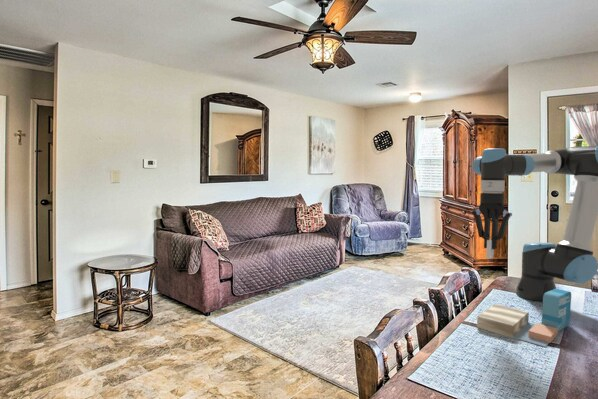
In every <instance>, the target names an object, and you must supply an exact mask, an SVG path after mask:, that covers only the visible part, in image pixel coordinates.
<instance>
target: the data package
mask: <svg viewBox="0 0 598 399" xmlns="http://www.w3.org/2000/svg"><path fill="white" fill-rule="evenodd" d="M571 303H572V292H571V291H570V290H564V289H559V288H556V289H553V290H551V291H548V292H546V293H545V294H544V296H543V302H542V309H541V324H543V325H547V326H551V327H554V328H558V331H559V332H560V331H561V330H563V329H564V328H567V327H568V326H569V325H570V320H571V319H570V318H571V307H572V306H571V305H572V304H571Z"/></svg>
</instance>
